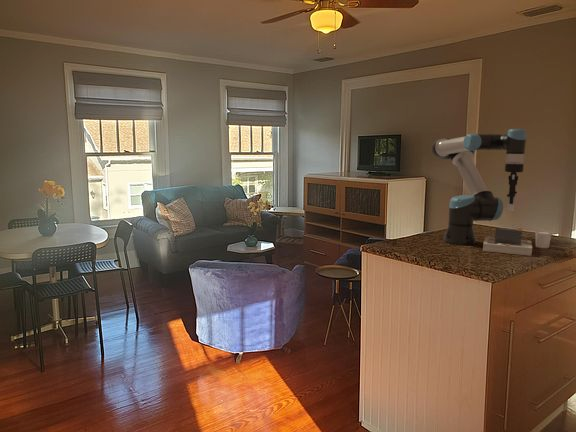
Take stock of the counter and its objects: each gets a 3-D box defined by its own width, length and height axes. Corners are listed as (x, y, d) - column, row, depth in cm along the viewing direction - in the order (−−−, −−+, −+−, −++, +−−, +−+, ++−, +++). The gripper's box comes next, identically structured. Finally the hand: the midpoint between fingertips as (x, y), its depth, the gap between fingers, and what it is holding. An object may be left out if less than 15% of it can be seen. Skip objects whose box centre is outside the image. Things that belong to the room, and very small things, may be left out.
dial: (492, 245, 209) (494, 228, 208) (494, 240, 220) (495, 224, 218) (521, 248, 204) (523, 231, 202) (521, 243, 214) (523, 226, 213)
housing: (482, 250, 209) (483, 242, 208) (485, 243, 225) (486, 235, 224) (531, 255, 200) (532, 247, 199) (530, 247, 216) (531, 239, 215)
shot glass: (542, 248, 214) (543, 234, 212) (530, 245, 220) (532, 231, 219) (553, 247, 215) (555, 233, 214) (542, 244, 222) (543, 231, 221)
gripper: (524, 164, 193) (519, 213, 196) (523, 162, 215) (519, 206, 218) (504, 164, 196) (500, 212, 200) (506, 162, 218) (502, 205, 222)
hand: (510, 209), depth 209 cm, fingers open, 13 cm apart
